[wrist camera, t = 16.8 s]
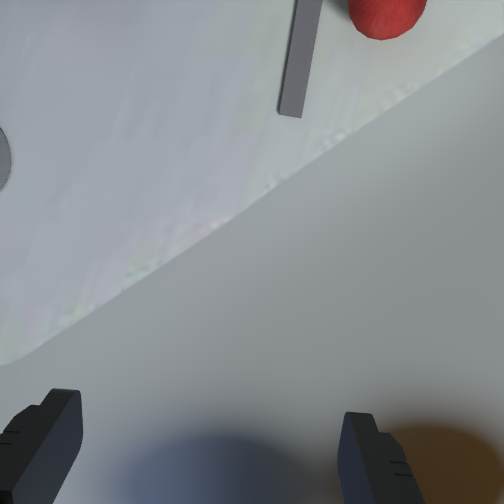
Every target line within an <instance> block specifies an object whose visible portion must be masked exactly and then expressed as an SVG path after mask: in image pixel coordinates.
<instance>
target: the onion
mask: <svg viewBox="0 0 504 504" xmlns="http://www.w3.org/2000/svg"><path fill="white" fill-rule="evenodd" d="M426 2H427V0H348V5H349V13H350V18H351V20H352V22H353V24H354V25H355V27H356V29H357V30H358V31H359V32H361V33H362V34H364V35H365V36H366V37H368V38H372V39H377V40H386V39H392V38H396V37H398V36H400V35H402V34H403V33H405V32H406V31H408V30H410V29H411V28H413V26H414V25H415V24H416V22H417V21H418V19H419V18H420V17H421V15H422V14H423V11H424V9H425V6H426Z"/></svg>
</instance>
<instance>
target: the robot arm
mask: <svg viewBox="0 0 504 504" xmlns="http://www.w3.org/2000/svg"><path fill="white" fill-rule="evenodd" d="M10 167H11V154H10V149H9V146H8V142H7V140H6V138H5V136H4V134H3V132H2V131H1V129H0V190H1V189H2V188H3V186H4V185H5V183H6V182H7V179H8V176H9V174H10ZM82 438H83V419H82V403H81V393H80V391H79V390H69V389H55V388H54V389H52V390H51V391H50V392H49V393H48V395H47V396H46V397H45V399H44V400H43V401H42V403H41V404H40V405H30V406H28V407H27V408H26V409H24V410H23V411H21V412H20V413H18V414H17V415H16V416H14V417H13V419H12V420H11V421H10V423H9V424H8V425H7V427H6V428H5V429H4V431H3V433H2V434H0V504H53V502H54V500H55V498H56V496H57V494H58V492H59V490H60V488H61V486H62V484H63V482H64V480H65V478H66V476H67V474H68V472H69V471H70V469H71V467H72V465H73V463H74V461H75V459H76V457H77V455H78V453H79V450H80V447H81V444H82ZM337 469H338V476H339V480H340V485H341V490H342V495H343V499H344V504H425V501H424V499H423V496H422V494H421V492H420V489H419V487H418V485H417V482H416V480H415V478H414V475H413V472H412V470H411V468H410V466H409V465H408V460H407V458H406V455H405V453H404V451H403V448H402V446H401V445H400V444H399V443H398V442H397V441H396V440H395V439H394V438H393V436H392V435H391V434H390V433H382V432H379V431H378V429H377V426H376V423H375V420H374V418H373V415H372V414H369V413H356V412H346V413H345V416H344V420H343V426H342V431H341V437H340V442H339V447H338V454H337Z"/></svg>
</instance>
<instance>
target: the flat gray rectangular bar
mask: <svg viewBox="0 0 504 504" xmlns="http://www.w3.org/2000/svg"><path fill="white" fill-rule="evenodd" d="M321 5H322V0H298V4H297V10H296V16H295V22H294V28H293V34H292V39H291V45H290V51H289V57H288V63H287V69H286V75H285V81H284V87H283V93H282V99H281V105H280V111H279V115H285V116H292V117H298V118H301V116H302V111H303V105H304V100H305V94H306V89H307V83H308V77H309V72H310V66H311V61H312V55H313V50H314V44H315V38H316V33H317V27H318V22H319V16H320V10H321Z"/></svg>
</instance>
